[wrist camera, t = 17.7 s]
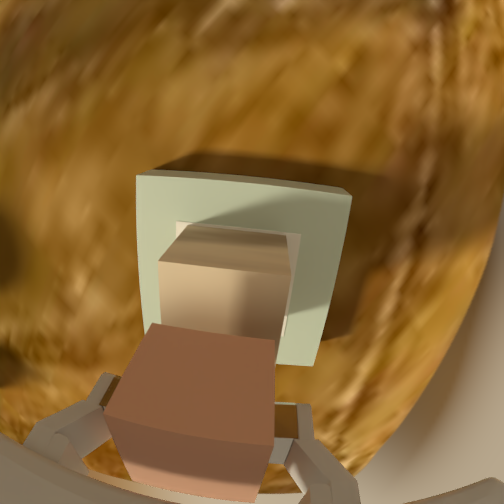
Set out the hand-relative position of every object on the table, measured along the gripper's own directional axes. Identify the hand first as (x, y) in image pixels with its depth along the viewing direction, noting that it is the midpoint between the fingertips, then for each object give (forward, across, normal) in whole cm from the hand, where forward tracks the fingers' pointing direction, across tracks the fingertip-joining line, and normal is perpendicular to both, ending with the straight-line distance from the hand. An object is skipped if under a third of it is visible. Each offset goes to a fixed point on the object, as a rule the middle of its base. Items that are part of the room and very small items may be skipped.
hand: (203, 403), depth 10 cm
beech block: (+9, 0, -1) cm, 9 cm away
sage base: (+12, 0, 0) cm, 12 cm away
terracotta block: (+2, 0, 0) cm, 2 cm away
